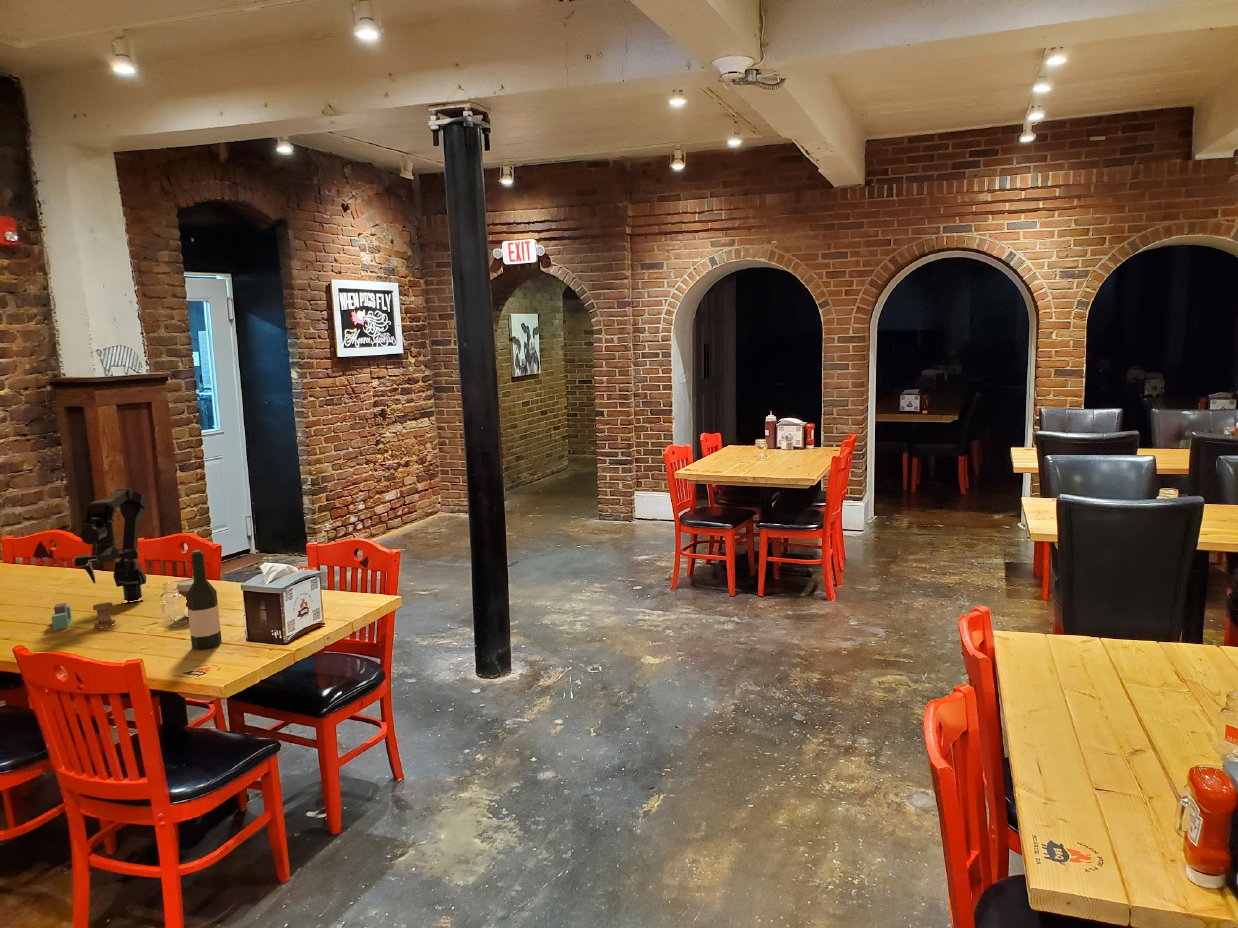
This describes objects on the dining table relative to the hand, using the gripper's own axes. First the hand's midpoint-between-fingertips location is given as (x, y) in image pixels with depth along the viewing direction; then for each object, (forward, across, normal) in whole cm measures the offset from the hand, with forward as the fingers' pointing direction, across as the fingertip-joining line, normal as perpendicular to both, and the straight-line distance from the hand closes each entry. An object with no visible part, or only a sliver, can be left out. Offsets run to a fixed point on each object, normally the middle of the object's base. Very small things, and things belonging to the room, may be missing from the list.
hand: (110, 581), depth 289 cm
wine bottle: (+12, +28, -53) cm, 61 cm away
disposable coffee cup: (+12, +25, -17) cm, 33 cm away
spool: (+12, -2, -12) cm, 17 cm away
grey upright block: (+11, -15, -3) cm, 19 cm away
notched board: (+12, -15, -3) cm, 19 cm away
